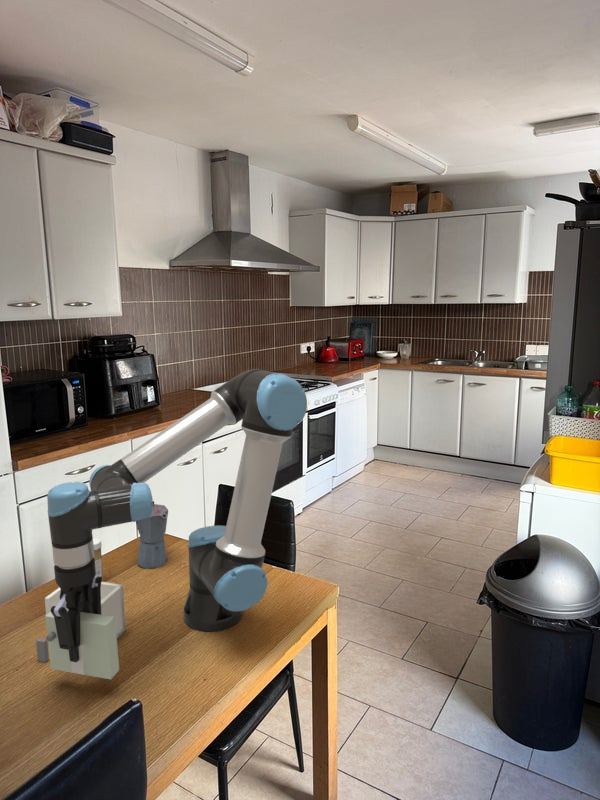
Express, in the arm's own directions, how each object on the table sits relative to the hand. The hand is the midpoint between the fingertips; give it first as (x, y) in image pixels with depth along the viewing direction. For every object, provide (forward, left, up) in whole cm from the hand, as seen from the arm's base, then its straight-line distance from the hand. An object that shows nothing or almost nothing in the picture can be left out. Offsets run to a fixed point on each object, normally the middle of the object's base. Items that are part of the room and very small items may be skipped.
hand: (84, 666), depth 114 cm
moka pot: (+16, -55, -5) cm, 57 cm away
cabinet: (+10, -13, -5) cm, 17 cm away
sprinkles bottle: (+24, -38, -5) cm, 45 cm away
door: (0, 0, -1) cm, 1 cm away
